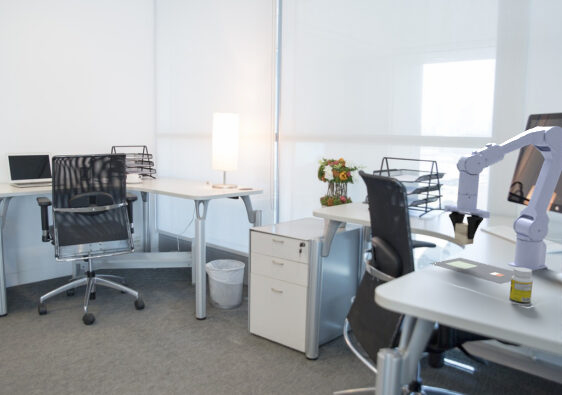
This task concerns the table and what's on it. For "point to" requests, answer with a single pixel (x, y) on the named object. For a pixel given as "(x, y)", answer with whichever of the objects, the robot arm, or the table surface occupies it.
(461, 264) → the mat
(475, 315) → the table surface
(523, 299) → the supplement bottle
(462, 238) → the birch block
